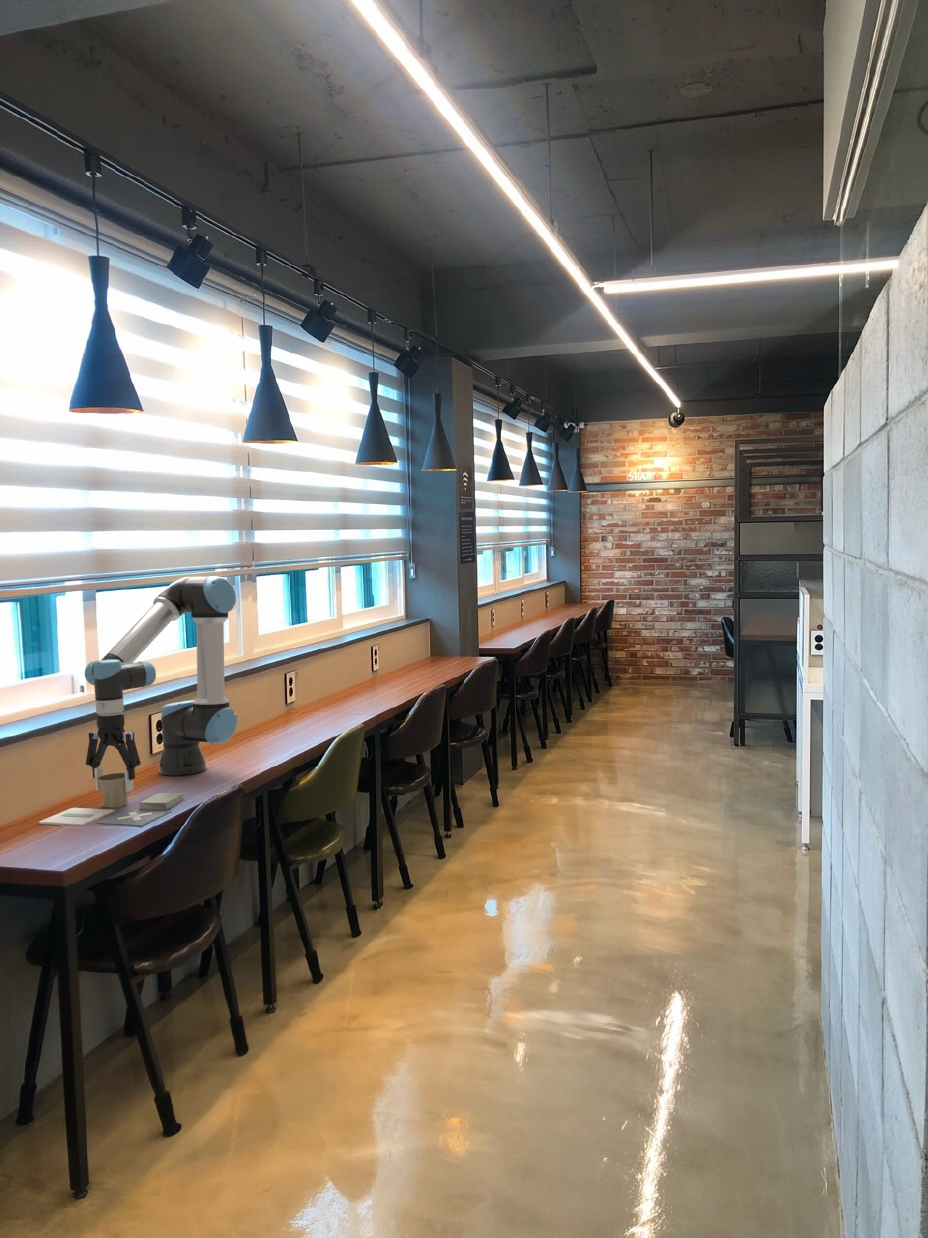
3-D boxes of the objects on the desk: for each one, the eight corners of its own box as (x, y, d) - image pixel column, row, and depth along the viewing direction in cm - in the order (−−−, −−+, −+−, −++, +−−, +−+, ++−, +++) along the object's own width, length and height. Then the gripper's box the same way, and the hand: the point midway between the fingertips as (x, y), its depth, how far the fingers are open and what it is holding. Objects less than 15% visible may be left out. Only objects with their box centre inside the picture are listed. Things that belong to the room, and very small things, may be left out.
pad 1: (72, 809, 273) (72, 807, 273) (114, 812, 269) (114, 809, 269) (38, 823, 259) (38, 821, 259) (82, 826, 256) (82, 823, 256)
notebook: (157, 800, 280) (156, 793, 280) (183, 800, 280) (183, 793, 280) (139, 809, 268) (139, 802, 268) (166, 809, 268) (166, 802, 268)
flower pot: (91, 807, 275) (90, 777, 274) (121, 799, 283) (119, 771, 282) (110, 811, 269) (108, 781, 269) (139, 804, 277) (137, 774, 276)
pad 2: (128, 810, 270) (128, 807, 270) (171, 812, 267) (171, 810, 266) (97, 825, 257) (96, 822, 257) (142, 827, 253) (142, 824, 253)
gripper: (68, 715, 273) (73, 791, 275) (135, 716, 267) (140, 795, 269) (85, 710, 280) (90, 785, 282) (151, 712, 274) (155, 788, 276)
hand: (114, 790), depth 276 cm, fingers closed on flower pot, 9 cm apart
